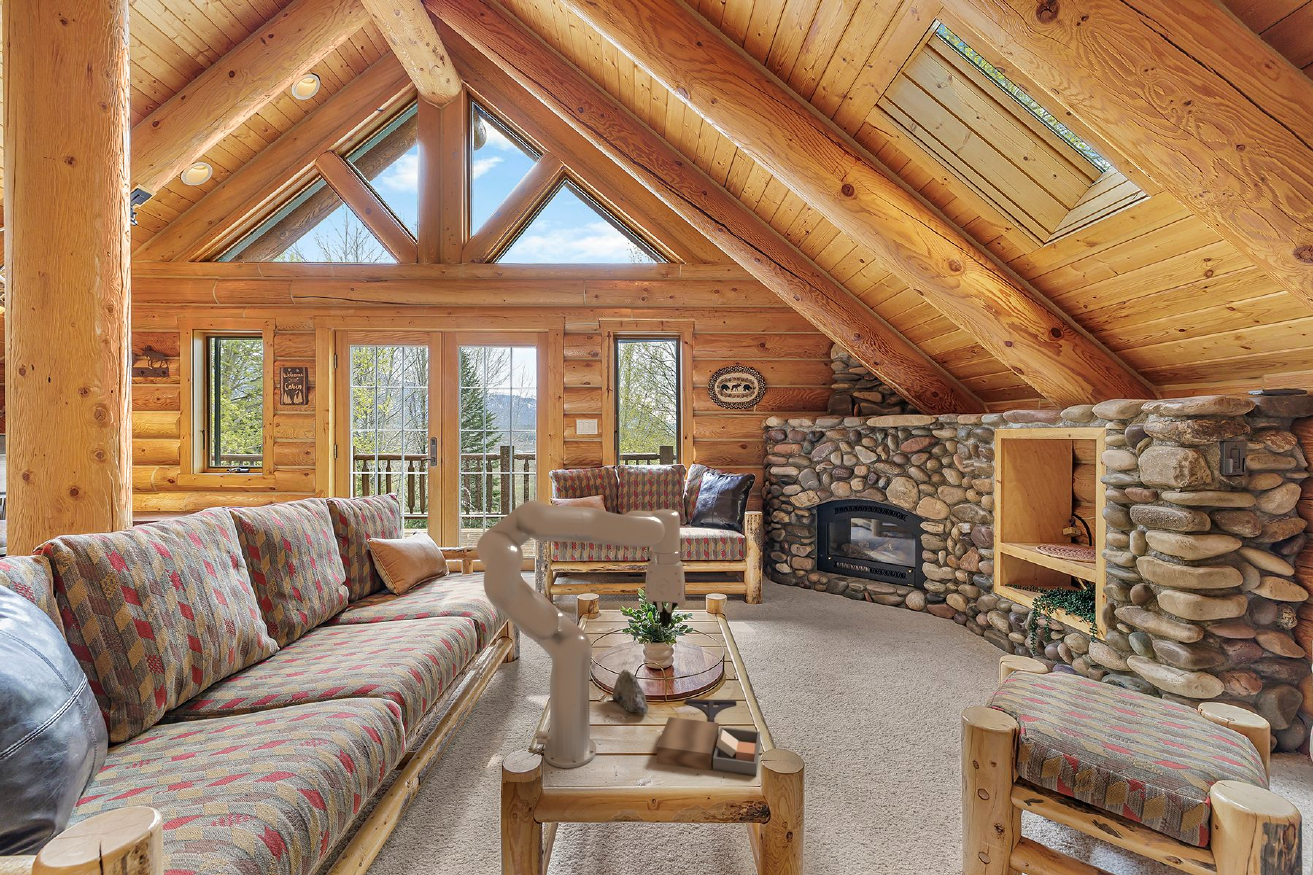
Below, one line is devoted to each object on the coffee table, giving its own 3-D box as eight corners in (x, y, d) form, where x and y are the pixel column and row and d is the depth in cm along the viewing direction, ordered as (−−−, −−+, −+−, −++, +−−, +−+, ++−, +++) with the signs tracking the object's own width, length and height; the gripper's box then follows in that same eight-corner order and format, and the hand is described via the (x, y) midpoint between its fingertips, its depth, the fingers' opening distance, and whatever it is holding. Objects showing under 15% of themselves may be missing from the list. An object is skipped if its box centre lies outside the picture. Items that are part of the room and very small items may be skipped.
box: (713, 770, 142) (713, 757, 142) (720, 738, 156) (720, 726, 155) (756, 776, 140) (756, 763, 140) (760, 743, 153) (760, 731, 153)
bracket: (684, 731, 160) (684, 720, 160) (685, 703, 175) (685, 693, 175) (739, 733, 159) (739, 723, 159) (736, 705, 174) (736, 695, 174)
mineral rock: (647, 720, 164) (647, 684, 164) (608, 720, 165) (607, 683, 164) (650, 697, 177) (650, 664, 177) (613, 696, 178) (613, 663, 177)
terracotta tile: (755, 753, 144) (755, 761, 144) (756, 743, 149) (756, 751, 149) (736, 751, 145) (736, 759, 145) (737, 741, 150) (737, 749, 150)
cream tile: (716, 745, 146) (720, 739, 146) (718, 735, 151) (722, 729, 150) (731, 757, 146) (736, 750, 145) (733, 746, 150) (738, 740, 150)
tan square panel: (656, 762, 145) (656, 746, 145) (668, 731, 159) (668, 716, 158) (710, 770, 142) (710, 753, 142) (718, 737, 156) (718, 722, 155)
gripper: (634, 559, 157) (634, 628, 158) (691, 562, 154) (691, 633, 155) (641, 552, 165) (641, 618, 166) (696, 555, 161) (696, 622, 162)
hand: (665, 625), depth 160 cm, fingers closed
